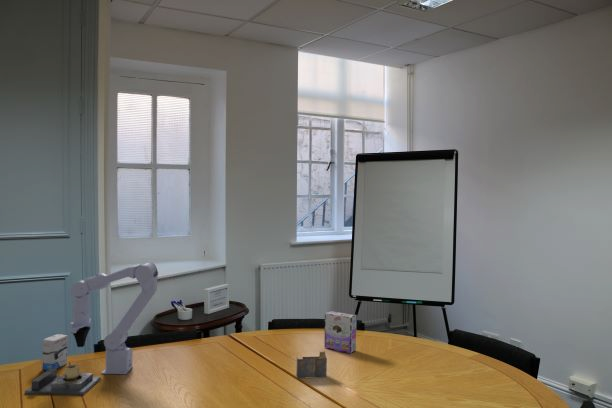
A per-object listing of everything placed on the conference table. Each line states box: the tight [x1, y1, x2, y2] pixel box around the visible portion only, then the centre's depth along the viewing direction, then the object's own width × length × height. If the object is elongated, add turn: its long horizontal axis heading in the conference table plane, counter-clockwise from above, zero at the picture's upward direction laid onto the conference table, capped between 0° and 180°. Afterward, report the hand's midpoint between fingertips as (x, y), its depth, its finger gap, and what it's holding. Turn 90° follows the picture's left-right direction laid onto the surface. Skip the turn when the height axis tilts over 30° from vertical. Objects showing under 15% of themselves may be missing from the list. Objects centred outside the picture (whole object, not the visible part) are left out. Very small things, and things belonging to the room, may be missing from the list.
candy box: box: [323, 310, 358, 354], centre depth 218 cm, size 14×6×16 cm, turn 58°
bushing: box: [64, 364, 80, 381], centre depth 171 cm, size 4×4×6 cm
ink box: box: [41, 333, 69, 371], centre depth 190 cm, size 8×5×12 cm, turn 168°
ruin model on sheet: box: [295, 351, 328, 379], centre depth 186 cm, size 11×3×10 cm, turn 98°
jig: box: [24, 368, 101, 396], centre depth 171 cm, size 20×14×4 cm
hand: (80, 346), depth 186 cm, fingers closed
